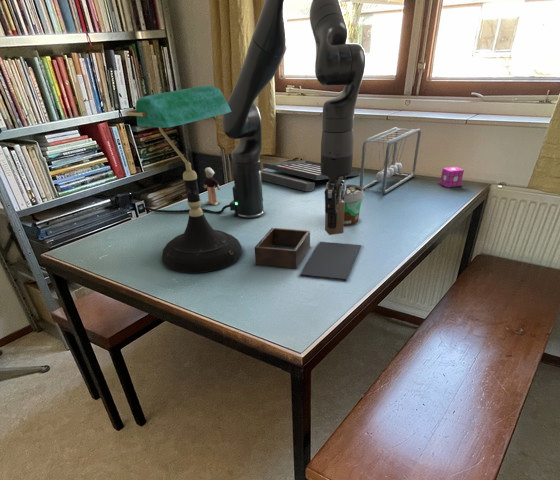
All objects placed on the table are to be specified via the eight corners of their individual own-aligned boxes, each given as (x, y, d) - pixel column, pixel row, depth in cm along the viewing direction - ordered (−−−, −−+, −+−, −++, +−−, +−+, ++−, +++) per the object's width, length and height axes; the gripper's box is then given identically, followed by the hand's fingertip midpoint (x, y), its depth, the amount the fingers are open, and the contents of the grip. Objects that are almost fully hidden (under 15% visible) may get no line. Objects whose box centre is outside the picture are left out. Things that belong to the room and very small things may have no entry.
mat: (300, 275, 109) (300, 274, 109) (320, 243, 125) (320, 241, 125) (346, 280, 106) (346, 279, 105) (360, 246, 122) (360, 245, 122)
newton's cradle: (391, 173, 181) (397, 125, 169) (414, 176, 176) (422, 127, 164) (358, 191, 162) (362, 140, 151) (383, 195, 157) (389, 142, 146)
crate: (255, 264, 115) (254, 247, 112) (272, 244, 126) (271, 227, 123) (296, 268, 112) (295, 251, 109) (310, 247, 123) (310, 230, 120)
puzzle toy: (447, 187, 162) (450, 171, 158) (439, 183, 166) (442, 168, 162) (460, 185, 163) (464, 170, 159) (452, 182, 167) (455, 166, 163)
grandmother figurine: (202, 204, 158) (196, 168, 150) (207, 201, 160) (202, 165, 152) (220, 206, 155) (215, 169, 147) (225, 203, 158) (220, 166, 150)
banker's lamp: (203, 283, 108) (172, 98, 83) (141, 265, 118) (95, 96, 93) (261, 246, 125) (249, 84, 100) (202, 233, 135) (178, 83, 110)
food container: (360, 228, 133) (363, 195, 126) (341, 227, 134) (343, 195, 128) (362, 215, 142) (365, 183, 136) (344, 214, 143) (346, 183, 137)
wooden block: (324, 230, 112) (325, 199, 107) (338, 228, 112) (340, 197, 107) (329, 235, 109) (330, 204, 104) (343, 233, 109) (345, 202, 104)
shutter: (304, 176, 201) (254, 181, 183) (305, 160, 198) (254, 163, 179) (357, 185, 182) (307, 191, 163) (359, 167, 178) (308, 171, 160)
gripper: (327, 145, 105) (326, 213, 115) (314, 158, 94) (313, 233, 105) (358, 145, 103) (353, 215, 113) (347, 159, 92) (343, 235, 103)
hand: (334, 223), depth 109 cm, fingers closed on wooden block, 5 cm apart
